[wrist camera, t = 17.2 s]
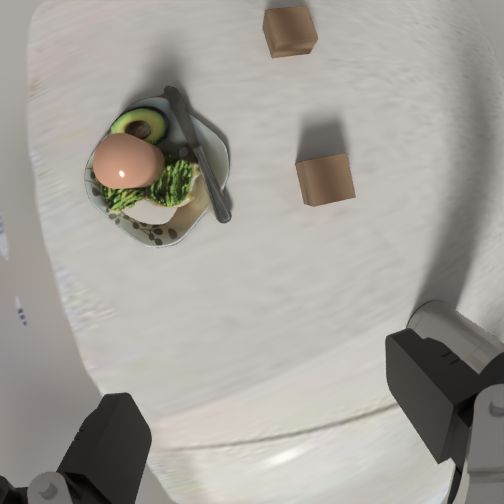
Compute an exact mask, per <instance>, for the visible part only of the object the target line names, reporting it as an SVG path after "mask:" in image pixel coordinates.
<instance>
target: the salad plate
mask: <svg viewBox="0 0 504 504" xmlns="http://www.w3.org/2000/svg"><path fill="white" fill-rule="evenodd" d="M115 133H127V134H129V135H132V136H134V137H137V138H139V139H141V140H144V141H146V142H148V143H150V144H153V145H155V146H156V147H158V148H159V149H160V150H161V152H162V153H163V156H164V159H165V168H164V172H163V174H162V176H161V178H160V179H159V180H158V181H157V182H156V183H154V184H153V185H151V186H148V187H136V188H120V189H112V188H108V187H106V186H104V185H103V184H102V183H100V182H99V180H98V179H97V177H96V176H95V173H94V170H93V157H94V153H95V151H94V152H93V154H92V155H91V157H90V159H89V160H88V162H87V166H86V169H85V185H86V190H87V194H88V197H89V199H90V201H91V202H92V203H93V205H94V206H95V207H96V208H97V209H98V210H99V211H100V212H101V213H102V214H104V215H105V216H106V217H107V218H108V219H110V220H111V221H112V222H113V223H115V224H116V225H117V226H118V227H120V228H121V229H122V230H123V231H124V232H125V233H126V234H128V235H129V236H130V237H132V238H133V239H135V240H137V241H138V242H139V243H140V244H142V245H145V246H148V247H156V248H160V247H166V246H173V245H176V244H178V243H179V242H180V241H181V240H183V239H184V237H185V236H186V235H187V233H188V232H190V231H191V230H192V229H193V227H195V225H196V224H197V223H198V221H199V220H200V219H201V218H202V217H203V216H204V215H205V214H206V213H208V212H212V213H213V214H214V215H215V216H216V219H217V220H218V221H219V222H220V223H227V222H229V221H230V220H231V217H232V215H231V212H230V210H229V207H228V205H227V203H226V201H225V198H224V194H223V192H224V188H225V184H226V182H227V179H228V176H229V161H228V153H227V149H226V147H225V144H224V143H223V141H222V140H221V139H220V138H219V137H218V136H217V135H216V134H215V133H214V132H213V131H212V130H210V129H209V128H208V127H206V126H205V125H204V124H202V123H201V122H200V121H199V120H197V119H196V118H194V117H193V116H191V115H190V114H189V113H188V112H187V110H186V104H185V102H184V100H183V98H182V96H181V94H180V93H179V92H178V90H177V89H176V88H175V87H170V86H166V87H165V89H164V93H163V95H161V96H157V97H151V98H146V99H142V100H140V101H138V102H136V103H134V104H132V105H131V106H130V107H129V108H127V109H126V110H125V111H124V112H123V113H122V114H121V115H120V116H119V117H118V118H117V119H116V120H115V122H114V123H113V124H112V126H111V127H110V130H109V131H108V132H107V134H106V135H105V137H104V138H103V139H105V138H106V137H108V136H109V135H112V134H115ZM103 139H102V140H103ZM102 140H101V141H102ZM100 143H101V142H100ZM100 143H99V144H100ZM184 146H185V147H187V149H188V155H187V156H186V157H180V155H179V150H180V149H181V148H182V147H184ZM97 147H98V146H97ZM95 150H96V149H95ZM144 198H145V199H144ZM143 199H144V200H145V201H148V202H150V203H151V204H154V205H156V206H159V207H163V208H168V207H178V208H177V210H176V212H175V214H174V216H173V217H172V218H171V219H170V221H169V222H167V223H165V224H160V225H151V224H146V223H142V222H139V221H136V220H134V219H133V218H131V217H129V216H128V215H126V214H125V213H124V212H123V210H125V209H127V208H132V207H133V206H134V205H135V204H137V203H138V202H140V201H142V200H143Z"/></svg>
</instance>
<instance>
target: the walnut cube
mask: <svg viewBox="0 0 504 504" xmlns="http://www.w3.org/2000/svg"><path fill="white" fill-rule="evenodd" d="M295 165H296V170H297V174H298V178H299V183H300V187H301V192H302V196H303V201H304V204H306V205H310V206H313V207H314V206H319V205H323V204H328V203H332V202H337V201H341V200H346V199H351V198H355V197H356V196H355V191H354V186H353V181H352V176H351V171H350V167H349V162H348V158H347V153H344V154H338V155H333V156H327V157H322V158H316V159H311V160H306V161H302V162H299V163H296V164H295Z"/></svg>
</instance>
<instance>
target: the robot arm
mask: <svg viewBox="0 0 504 504" xmlns="http://www.w3.org/2000/svg"><path fill="white" fill-rule="evenodd" d="M385 346H386V377H387V383H388V386H389V389H390V391H391V393H392V395H393V396H394V398H395V399H396V401H397V402H398V404H399V405H400V407H401V408H402V410H403V411H404V413H405V414H406V416H407V417H408V419H409V420H410V422H411V423H412V425H413V426H414V428H415V429H416V431H417V432H418V434H419V435H420V437H421V438H422V440H423V442H424V443H425V445H426V446H427V448H428V449H429V451H430V452H431V454H432V455H433V457H434V459H435V460H436V462H437V463H438V464H440V463H442V462H444V461H445V460H447V459H449V458H451V459H452V460H453V462H454V463H455V465H454V468H453V472H452V477H451V481H450V485H449V489H448V493H447V497H446V500H445V504H504V343H503V342H501V341H500V340H498V339H497V338H495V337H494V336H492V335H491V334H490V333H488V332H487V331H485V330H484V329H482V328H481V327H479V326H478V325H477V324H475V323H474V322H472V321H471V320H469V319H468V318H466V317H465V316H463V315H462V314H460V313H459V312H457V311H456V310H454V309H453V308H451V307H450V306H448V305H447V304H445V303H443V302H441V301H431V302H428V303H426V304H424V305H423V306H422V307H420V308H419V309H418V310H417V311H416V312H415V313H414V315H413V316H412V318H411V319H410V321H409V323H408V326H407V329H404V330H401V331H399V332H396V333H393V334H390V335H388V336H387V337H386V340H385ZM151 442H152V437H151V431H150V428H149V426H148V424H147V423H146V421H145V419H144V418H143V416H142V414H141V412H140V411H139V409H138V407H137V405H136V403H135V402H134V400H133V398H132V396H131V395H130V394H129V393H114V394H106V395H104V397H103V398H102V400H101V402H100V404H99V406H98V407H97V409H95V410H94V411H93V412H92V413H91V414H90V415H89V416H88V417H87V418H86V419H85V420H84V422H83V423H82V425H81V427H80V429H79V432H77V434H76V436H75V438H74V441H72V443H71V445H70V447H69V449H68V450H67V452H66V454H65V456H64V458H63V460H62V462H61V464H60V465H59V467H58V469H57V471H56V472H45V473H42V474H40V475H38V476H37V477H36V478H34V479H33V480H32V482H31V483H30V485H29V487H23V488H14V487H13V486H12V485H11V484H10V483H9V482H8V481H7V479H6V478H4V477H3V476H0V504H135V500H136V496H137V493H138V489H139V485H140V481H141V478H142V475H143V471H144V467H145V464H146V460H147V457H148V453H149V450H150V446H151Z"/></svg>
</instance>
